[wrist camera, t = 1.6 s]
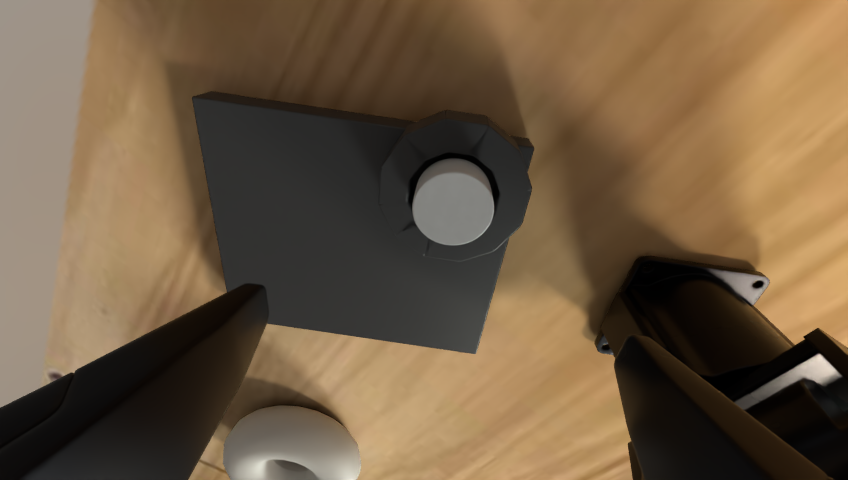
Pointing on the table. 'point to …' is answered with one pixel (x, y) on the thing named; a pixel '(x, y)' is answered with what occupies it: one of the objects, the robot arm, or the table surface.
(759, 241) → the table surface
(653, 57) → the table surface
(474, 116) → the scale
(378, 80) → the table surface
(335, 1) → the table surface
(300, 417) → the donut
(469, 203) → the button
